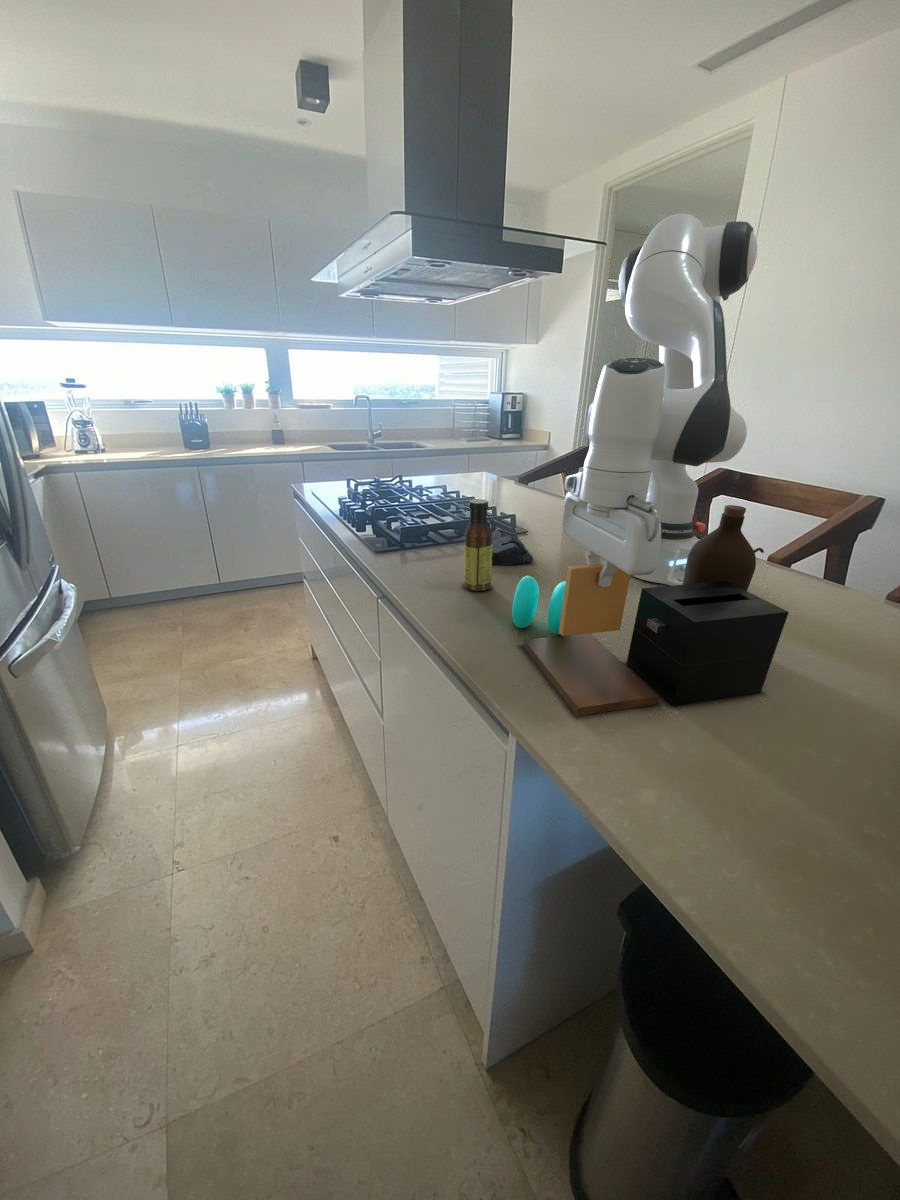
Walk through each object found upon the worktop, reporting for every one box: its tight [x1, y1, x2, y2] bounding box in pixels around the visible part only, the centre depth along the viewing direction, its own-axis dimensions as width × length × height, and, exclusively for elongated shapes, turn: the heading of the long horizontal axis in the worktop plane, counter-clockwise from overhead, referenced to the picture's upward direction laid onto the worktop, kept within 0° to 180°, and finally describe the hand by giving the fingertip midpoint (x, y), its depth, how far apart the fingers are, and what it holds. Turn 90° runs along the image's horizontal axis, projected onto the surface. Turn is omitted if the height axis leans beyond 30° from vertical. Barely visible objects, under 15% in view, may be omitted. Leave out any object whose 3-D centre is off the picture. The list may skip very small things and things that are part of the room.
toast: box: [559, 563, 631, 636], centre depth 74 cm, size 10×1×11 cm, turn 104°
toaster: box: [625, 581, 790, 707], centre depth 76 cm, size 18×12×14 cm
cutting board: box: [523, 633, 659, 717], centre depth 79 cm, size 13×20×2 cm, turn 14°
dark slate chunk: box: [492, 529, 534, 566], centre depth 134 cm, size 15×22×5 cm
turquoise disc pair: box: [511, 575, 566, 636], centre depth 91 cm, size 10×10×10 cm
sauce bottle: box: [463, 498, 493, 592], centre depth 107 cm, size 7×6×20 cm
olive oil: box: [683, 504, 757, 592], centre depth 86 cm, size 11×11×25 cm
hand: (598, 581), depth 73 cm, fingers closed on toast, 1 cm apart
